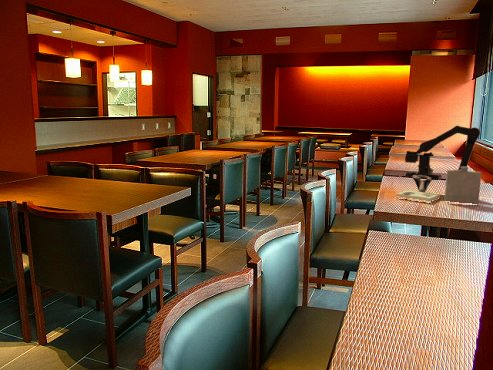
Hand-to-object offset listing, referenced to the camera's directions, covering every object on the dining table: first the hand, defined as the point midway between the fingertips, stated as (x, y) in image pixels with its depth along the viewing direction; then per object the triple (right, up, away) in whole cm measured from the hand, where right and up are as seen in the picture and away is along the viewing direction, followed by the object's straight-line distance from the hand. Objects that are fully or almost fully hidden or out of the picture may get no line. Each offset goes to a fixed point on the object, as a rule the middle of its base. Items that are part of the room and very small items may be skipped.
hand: (422, 190), depth 245 cm
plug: (0, -2, 0) cm, 2 cm away
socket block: (-8, -5, -13) cm, 16 cm away
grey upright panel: (+10, -7, -24) cm, 27 cm away
